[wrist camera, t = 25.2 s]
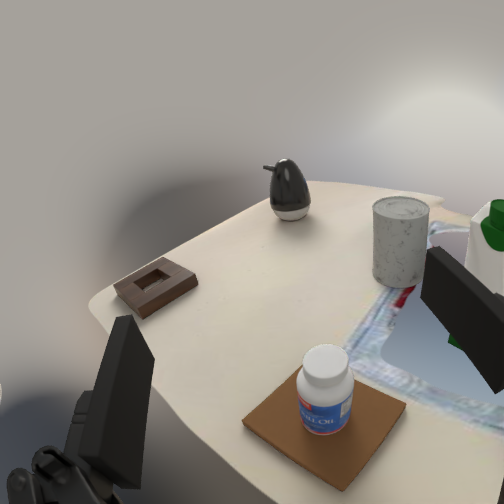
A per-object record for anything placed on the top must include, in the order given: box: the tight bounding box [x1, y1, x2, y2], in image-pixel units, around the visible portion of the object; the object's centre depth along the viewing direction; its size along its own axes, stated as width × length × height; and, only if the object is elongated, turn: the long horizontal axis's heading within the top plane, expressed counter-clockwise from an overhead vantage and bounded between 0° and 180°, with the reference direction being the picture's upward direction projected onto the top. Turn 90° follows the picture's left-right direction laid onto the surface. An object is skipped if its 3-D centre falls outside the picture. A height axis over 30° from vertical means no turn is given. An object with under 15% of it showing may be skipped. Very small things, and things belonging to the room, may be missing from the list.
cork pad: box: [242, 364, 406, 492], centre depth 30 cm, size 14×12×1 cm
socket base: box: [113, 257, 198, 319], centre depth 60 cm, size 13×13×2 cm
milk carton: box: [448, 199, 504, 350], centre depth 29 cm, size 9×9×20 cm
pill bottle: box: [296, 344, 354, 435], centre depth 28 cm, size 6×5×10 cm
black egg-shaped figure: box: [263, 159, 311, 221], centre depth 77 cm, size 10×10×15 cm
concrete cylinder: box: [372, 196, 430, 288], centre depth 48 cm, size 10×10×12 cm
